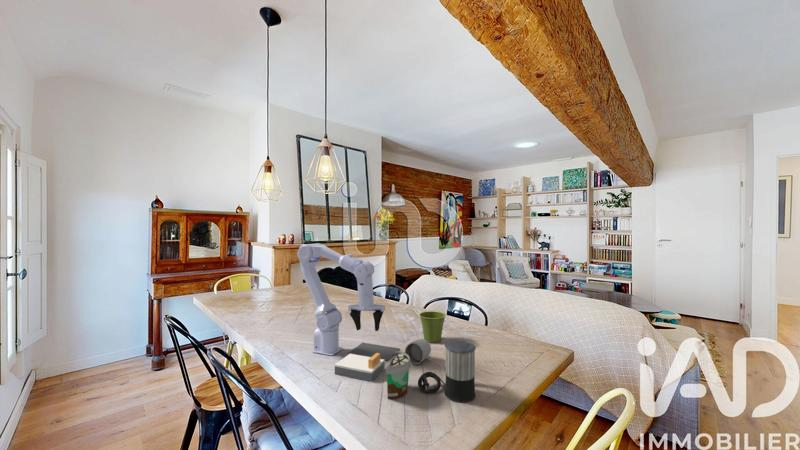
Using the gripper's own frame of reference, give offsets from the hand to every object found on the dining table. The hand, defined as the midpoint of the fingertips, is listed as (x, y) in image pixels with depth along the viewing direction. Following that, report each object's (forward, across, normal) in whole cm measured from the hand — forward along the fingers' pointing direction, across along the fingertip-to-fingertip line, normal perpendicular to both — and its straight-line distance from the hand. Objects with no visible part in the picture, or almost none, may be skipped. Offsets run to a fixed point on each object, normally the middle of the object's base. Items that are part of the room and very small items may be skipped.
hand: (367, 329), depth 121 cm
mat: (+11, -1, +6) cm, 12 cm away
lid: (+8, +2, -11) cm, 14 cm away
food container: (+12, +19, -19) cm, 30 cm away
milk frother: (+13, +32, -15) cm, 38 cm away
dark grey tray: (+11, +1, -11) cm, 16 cm away
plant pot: (+12, +18, +26) cm, 34 cm away
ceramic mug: (+12, +17, +4) cm, 21 cm away
